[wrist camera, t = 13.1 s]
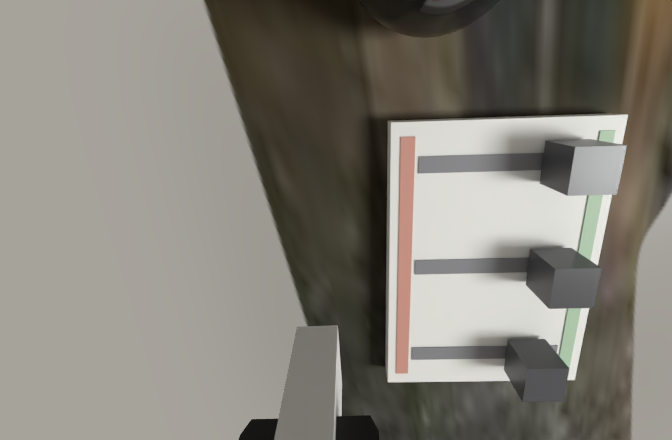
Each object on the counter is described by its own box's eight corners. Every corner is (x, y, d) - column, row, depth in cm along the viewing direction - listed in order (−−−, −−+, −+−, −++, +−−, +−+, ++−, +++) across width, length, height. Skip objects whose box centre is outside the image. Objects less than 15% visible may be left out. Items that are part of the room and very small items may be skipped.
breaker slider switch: (507, 339, 31) (527, 369, 27) (545, 339, 31) (569, 368, 27) (503, 369, 32) (522, 401, 28) (539, 369, 32) (563, 401, 28)
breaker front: (545, 140, 26) (575, 146, 22) (590, 139, 26) (626, 145, 22) (539, 183, 27) (567, 195, 23) (582, 182, 27) (616, 194, 23)
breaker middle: (530, 248, 28) (555, 269, 25) (571, 247, 28) (601, 268, 25) (525, 284, 29) (548, 308, 26) (564, 283, 29) (593, 307, 26)
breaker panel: (387, 120, 28) (391, 122, 26) (608, 113, 27) (629, 114, 25) (385, 366, 35) (387, 383, 33) (561, 364, 34) (575, 380, 32)
